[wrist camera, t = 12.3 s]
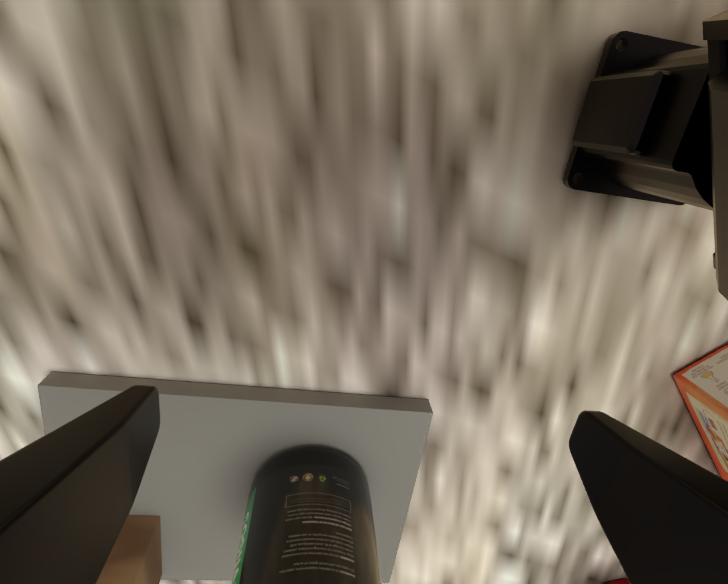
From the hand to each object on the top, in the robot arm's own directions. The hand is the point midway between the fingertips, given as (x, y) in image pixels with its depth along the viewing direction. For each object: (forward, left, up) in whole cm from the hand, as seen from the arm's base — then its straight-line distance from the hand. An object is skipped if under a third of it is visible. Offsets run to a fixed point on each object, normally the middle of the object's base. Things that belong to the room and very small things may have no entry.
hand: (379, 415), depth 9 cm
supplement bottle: (0, +15, -12) cm, 19 cm away
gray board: (+4, +16, -13) cm, 21 cm away
